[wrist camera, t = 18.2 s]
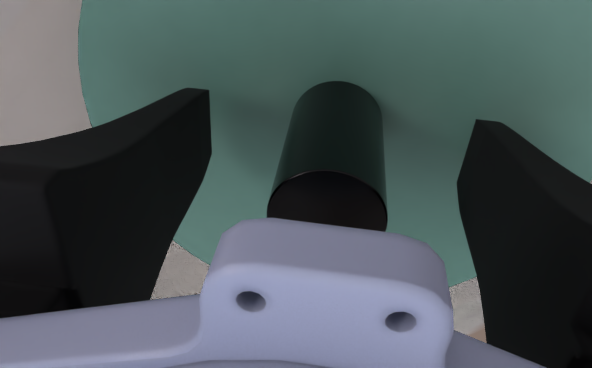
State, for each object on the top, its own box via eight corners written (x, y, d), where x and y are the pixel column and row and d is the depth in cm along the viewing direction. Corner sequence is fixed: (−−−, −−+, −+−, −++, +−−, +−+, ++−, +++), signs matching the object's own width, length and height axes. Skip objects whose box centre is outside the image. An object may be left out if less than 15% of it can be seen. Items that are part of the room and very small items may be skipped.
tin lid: (129, 255, 20) (59, 379, 15) (41, -236, 11) (-183, -287, 7) (512, 305, 19) (558, 452, 14) (743, -186, 10) (1045, -206, 6)
